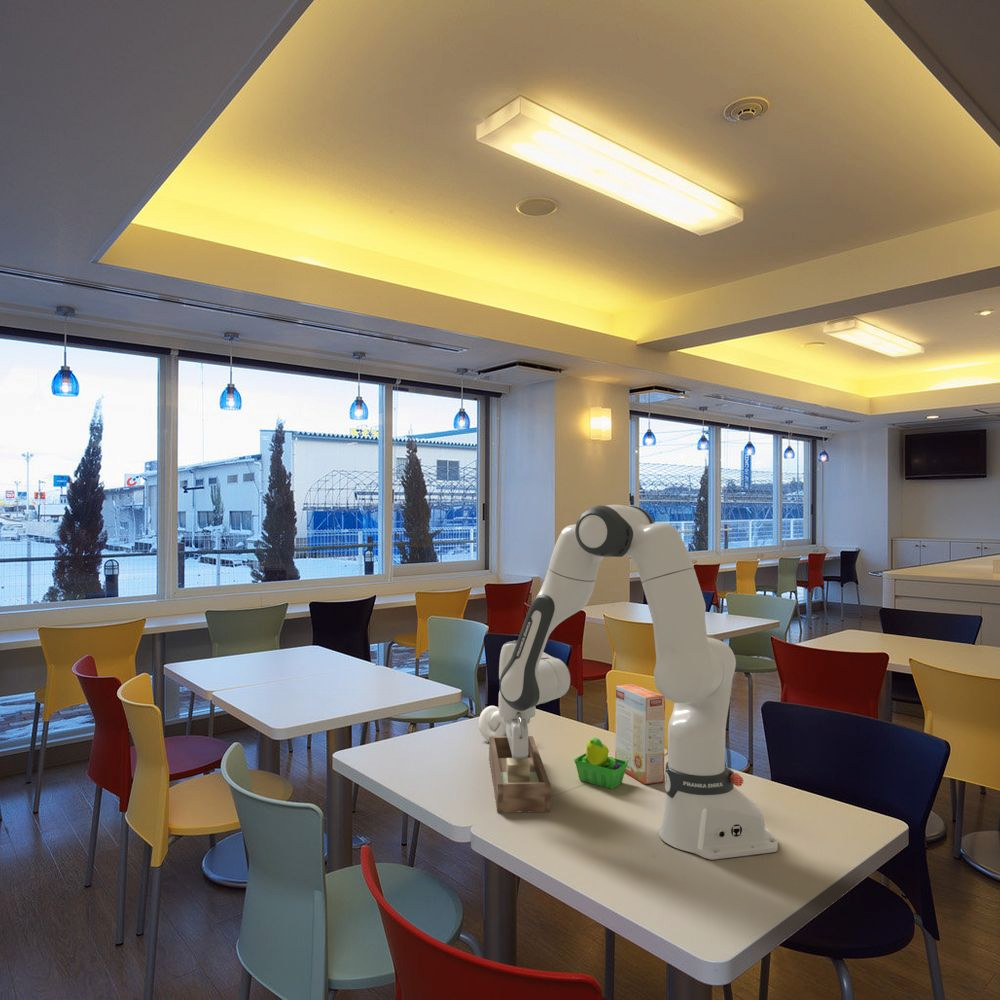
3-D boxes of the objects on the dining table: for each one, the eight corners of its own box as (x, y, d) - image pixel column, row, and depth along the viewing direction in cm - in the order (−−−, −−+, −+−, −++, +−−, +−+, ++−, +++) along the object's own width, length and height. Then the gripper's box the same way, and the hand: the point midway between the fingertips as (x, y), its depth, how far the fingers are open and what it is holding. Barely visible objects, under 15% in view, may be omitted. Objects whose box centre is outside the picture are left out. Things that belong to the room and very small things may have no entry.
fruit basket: (629, 782, 176) (629, 735, 176) (611, 793, 169) (612, 744, 169) (588, 772, 183) (588, 726, 183) (569, 782, 175) (569, 735, 176)
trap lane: (532, 759, 192) (532, 736, 192) (550, 811, 158) (550, 783, 158) (489, 759, 191) (489, 736, 191) (497, 812, 157) (497, 784, 157)
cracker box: (665, 782, 176) (666, 695, 176) (644, 785, 174) (645, 697, 174) (634, 764, 189) (635, 682, 189) (614, 766, 187) (614, 684, 187)
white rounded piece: (490, 730, 217) (491, 700, 217) (528, 736, 212) (529, 704, 212) (474, 741, 206) (475, 709, 206) (514, 747, 202) (514, 714, 202)
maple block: (527, 774, 172) (527, 757, 172) (529, 782, 167) (529, 765, 167) (506, 775, 171) (506, 757, 171) (507, 782, 166) (508, 765, 166)
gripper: (535, 719, 164) (534, 781, 164) (525, 696, 185) (524, 751, 184) (507, 719, 164) (506, 781, 163) (500, 696, 184) (500, 752, 184)
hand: (516, 765), depth 174 cm, fingers closed
